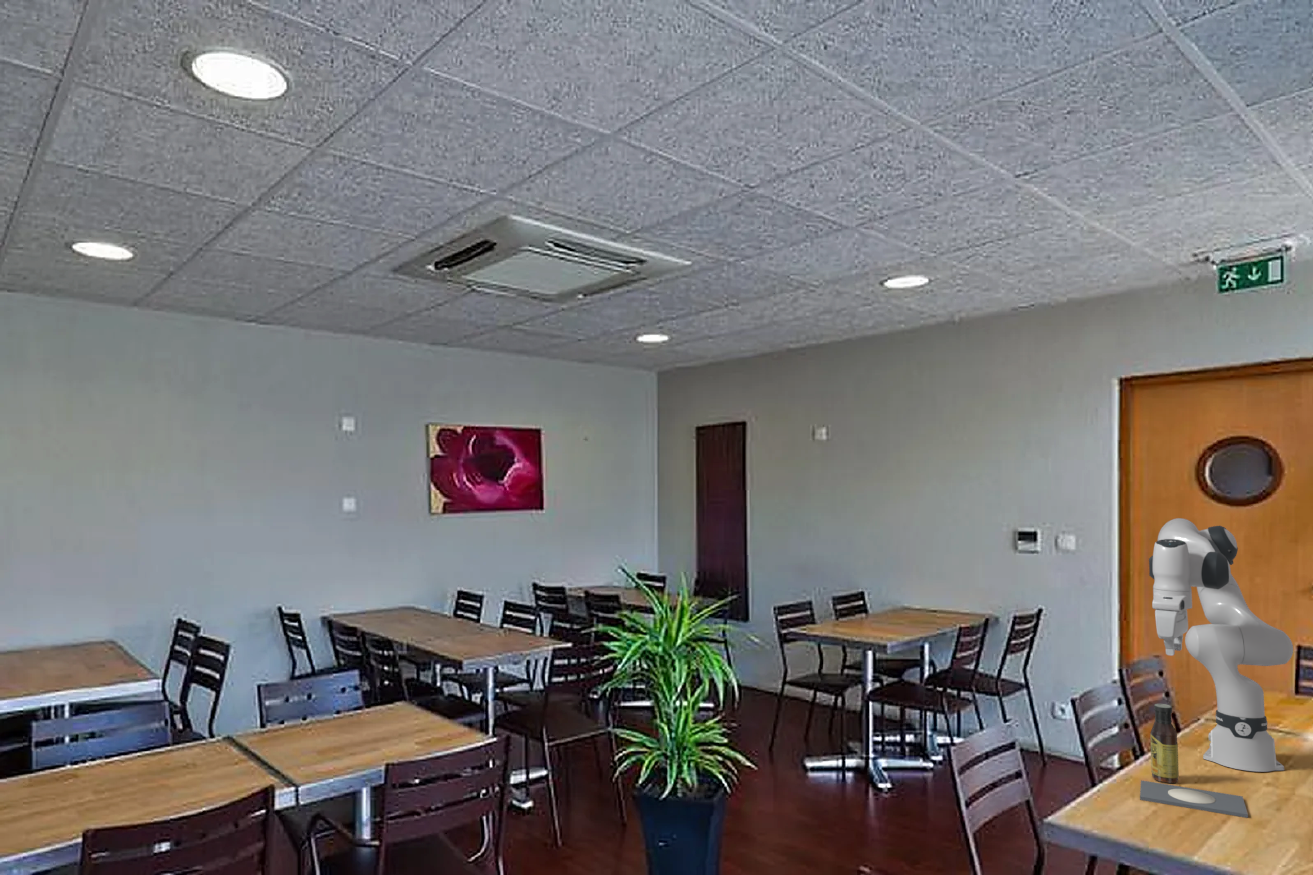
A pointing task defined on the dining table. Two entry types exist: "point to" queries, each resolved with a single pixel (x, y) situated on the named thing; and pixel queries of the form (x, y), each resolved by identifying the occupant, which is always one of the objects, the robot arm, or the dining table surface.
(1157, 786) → the mat
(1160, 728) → the sauce bottle
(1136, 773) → the dining table surface
